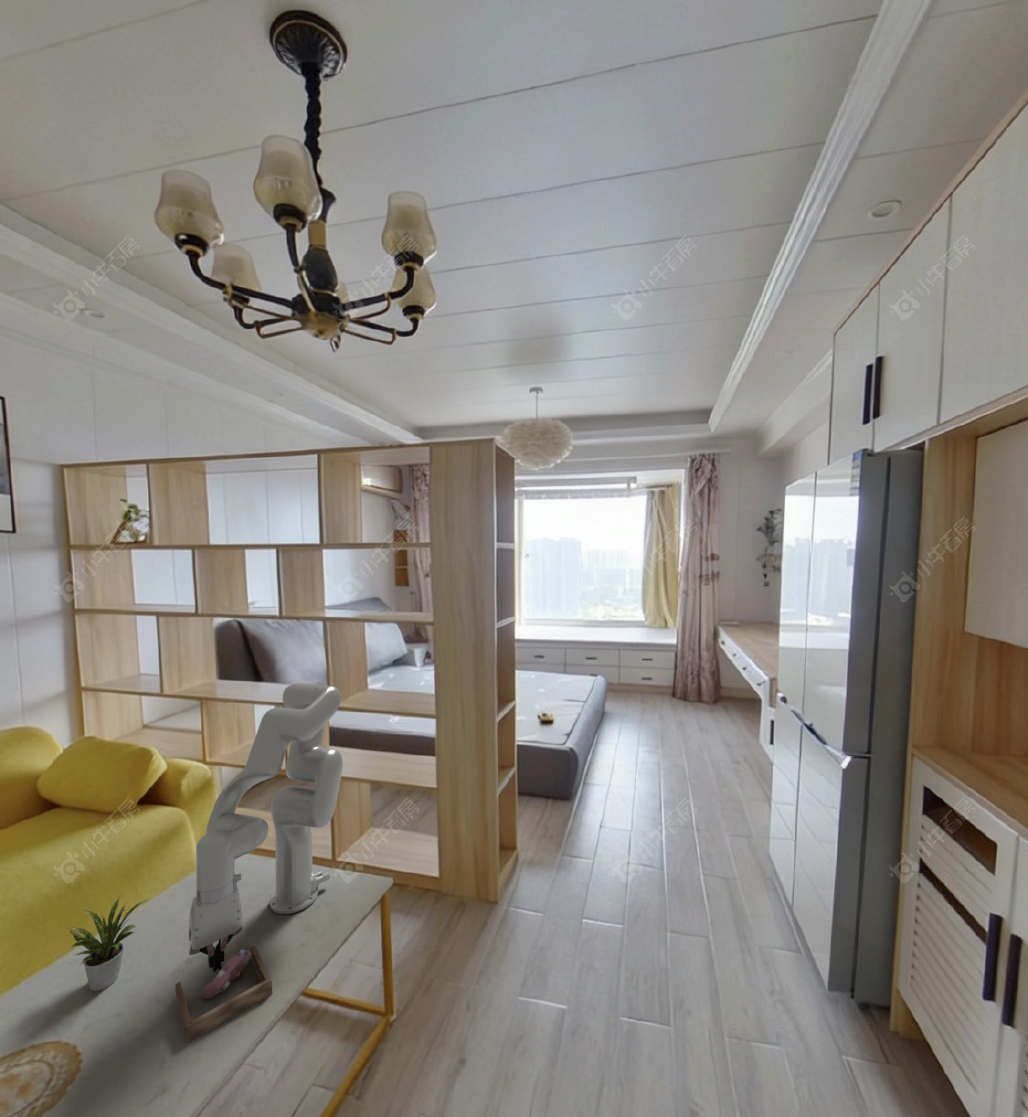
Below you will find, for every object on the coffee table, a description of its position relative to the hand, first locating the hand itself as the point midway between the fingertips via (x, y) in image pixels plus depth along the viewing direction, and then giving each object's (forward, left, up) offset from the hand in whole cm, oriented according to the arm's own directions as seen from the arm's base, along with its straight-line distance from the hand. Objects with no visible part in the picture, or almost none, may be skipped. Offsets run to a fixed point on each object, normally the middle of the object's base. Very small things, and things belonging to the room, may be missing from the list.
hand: (216, 967), depth 113 cm
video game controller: (-2, +4, -2) cm, 5 cm away
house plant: (+18, -17, -2) cm, 25 cm away
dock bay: (0, +6, -2) cm, 6 cm away
